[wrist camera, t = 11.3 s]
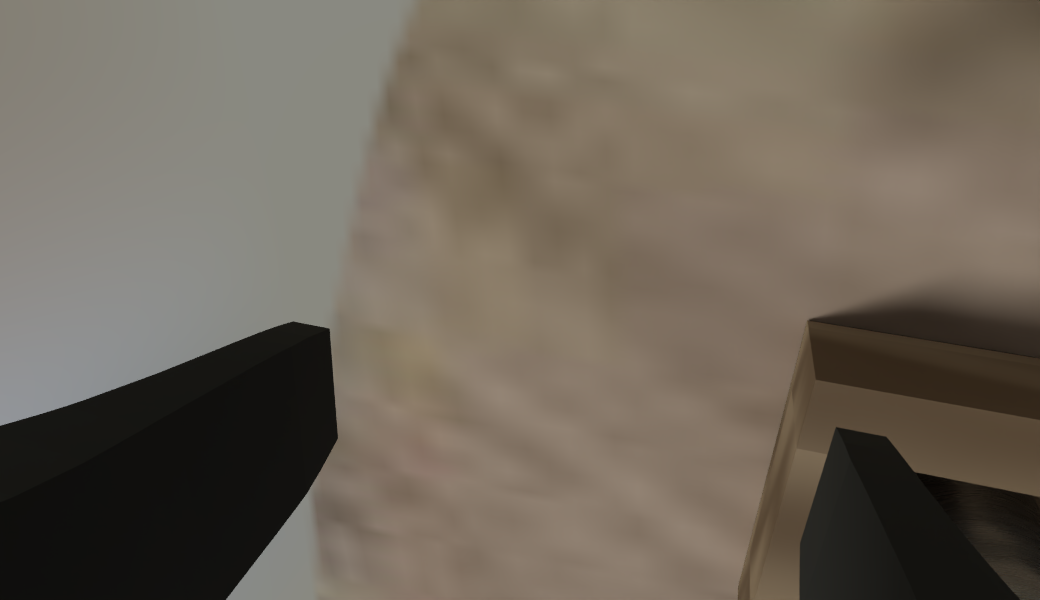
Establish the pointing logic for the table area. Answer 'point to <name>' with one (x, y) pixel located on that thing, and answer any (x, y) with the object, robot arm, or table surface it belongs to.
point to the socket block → (891, 429)
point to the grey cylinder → (996, 528)
